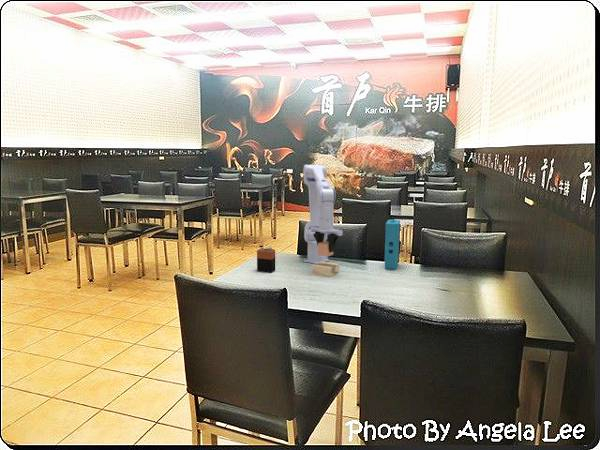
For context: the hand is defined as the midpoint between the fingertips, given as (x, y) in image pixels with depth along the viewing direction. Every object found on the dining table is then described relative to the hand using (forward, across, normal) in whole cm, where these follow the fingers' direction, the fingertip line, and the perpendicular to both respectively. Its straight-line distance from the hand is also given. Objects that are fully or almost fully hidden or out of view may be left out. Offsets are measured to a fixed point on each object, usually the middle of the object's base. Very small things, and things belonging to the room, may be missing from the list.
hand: (325, 251), depth 181 cm
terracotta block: (+2, 0, 0) cm, 2 cm away
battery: (+10, -22, -12) cm, 27 cm away
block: (+10, +17, +26) cm, 33 cm away
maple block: (+10, 0, 0) cm, 10 cm away
